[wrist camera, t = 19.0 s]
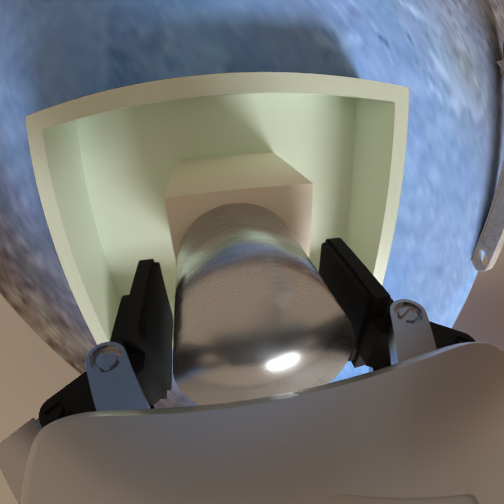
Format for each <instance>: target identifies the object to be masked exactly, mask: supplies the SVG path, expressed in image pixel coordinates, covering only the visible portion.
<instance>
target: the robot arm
mask: <svg viewBox="0 0 504 504" xmlns="http://www.w3.org/2000/svg"><path fill="white" fill-rule="evenodd" d="M319 274H320V275H321V277H322V278H323V280H324V282H325V283H326V285H327V286H328V288H329V289H330V291H331V292H332V294H333V295H334V297H335V299H336V300H337V302H338V303H339V305H340V306H341V308H342V309H343V311H344V313H345V314H346V316H347V317H348V319H349V321H350V323H351V325H352V328H353V332H354V344H353V349H352V352H351V355H350V357H349V359H348V361H351V362H352V364H353V366H354V368H356V367H359V366H363V365H366V366H369V373H365V374H362V375H359V376H355V377H352V378H348V379H344V380H340V381H337V382H333V383H329V384H325V385H321V386H316V387H312V388H308V389H303V390H298V391H294V392H289V393H284V394H278V395H273V396H267V397H261V398H255V399H249V400H242V401H235V402H228V403H219V404H210V405H200V406H189V407H175V408H158V409H156V407H155V405H154V404H156V403H157V402H158V401H159V400H160V399H167V390H171V383H172V343H173V315H172V311H171V307H170V303H169V300H168V296H167V292H166V288H165V284H164V280H163V275H162V271H161V267H160V263H159V262H155V261H154V259H147V260H139V262H138V265H137V269H136V272H135V276H134V279H133V283H132V286H131V290H130V294H129V295H123V296H122V298H121V301H120V305H119V308H118V312H117V316H116V319H115V323H114V327H113V331H112V335H111V339H110V342H104V343H100V344H98V345H96V346H95V347H94V348H92V349H91V350H90V351H89V353H88V354H87V357H86V359H85V366H86V372H84V373H83V374H82V375H80V376H79V377H78V378H76V379H75V380H74V381H72V382H71V383H70V384H68V385H67V386H65V387H64V388H63V389H62V390H60V391H59V392H57V393H56V394H55V395H53V396H52V397H51V398H49V399H48V400H47V401H46V402H45V403H44V404H43V405H42V407H41V409H40V412H39V418H38V419H37V420H35V419H34V418H32V419H31V420H30V421H28V422H27V423H26V424H24V425H23V426H22V427H20V428H19V429H18V430H16V431H15V432H14V433H12V434H11V435H10V436H8V437H7V438H6V439H5V440H3V441H2V442H1V443H0V468H1V470H2V472H3V475H4V477H5V479H6V481H7V483H8V485H9V486H10V489H11V490H12V492H13V494H14V496H15V497H16V500H17V501H18V503H19V504H504V351H502V350H500V348H498V347H497V346H495V345H493V344H490V343H486V342H476V341H475V340H474V339H473V338H472V337H470V336H469V335H468V334H466V333H463V332H460V331H457V330H454V329H451V328H448V327H445V326H442V325H439V324H436V323H433V322H430V321H429V320H428V316H427V313H426V311H425V309H424V308H423V307H422V306H421V305H420V304H418V303H417V302H414V301H412V300H407V299H400V300H397V301H395V302H394V301H393V300H392V299H391V298H390V295H389V294H388V292H387V291H386V290H385V289H384V287H383V286H382V285H381V284H380V283H379V281H378V280H377V279H376V278H375V277H374V275H373V274H372V273H371V272H370V271H369V270H368V268H367V267H366V266H365V265H364V264H363V263H362V261H361V260H360V259H359V258H358V257H357V256H356V255H355V253H354V252H353V251H352V250H351V249H350V248H349V247H348V245H347V244H346V243H345V242H344V241H343V240H342V239H341V238H330V239H326V241H325V243H322V245H321V254H320V264H319Z"/></svg>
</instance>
